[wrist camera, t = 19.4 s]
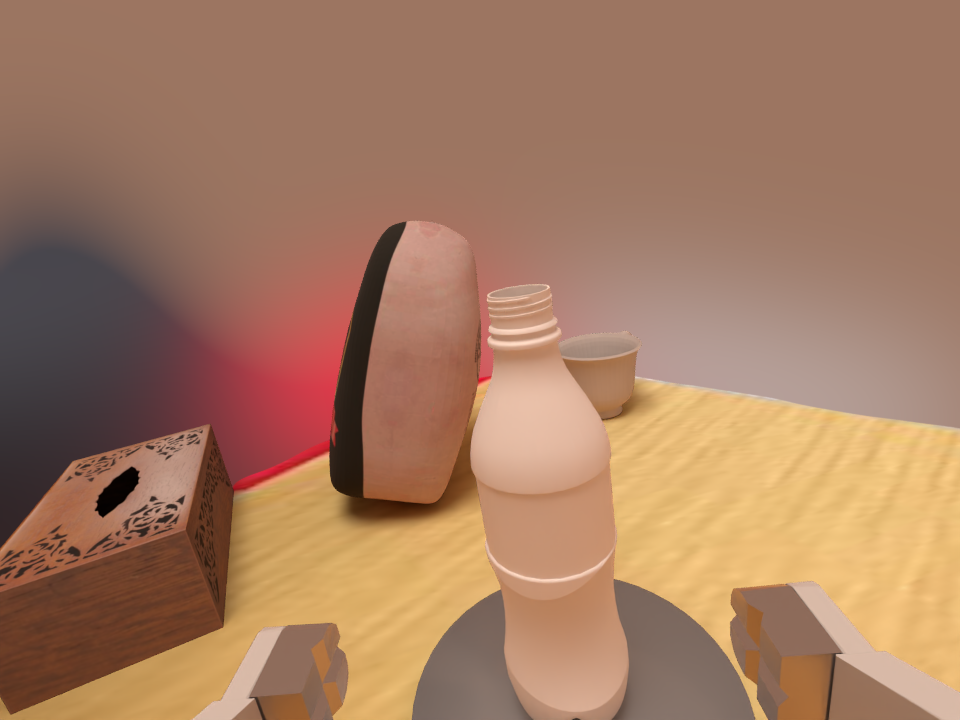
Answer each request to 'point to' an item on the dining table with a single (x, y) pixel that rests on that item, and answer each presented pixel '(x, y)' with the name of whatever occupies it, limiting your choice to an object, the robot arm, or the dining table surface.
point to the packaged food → (408, 367)
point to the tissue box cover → (115, 565)
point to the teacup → (603, 368)
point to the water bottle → (548, 517)
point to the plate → (651, 676)
